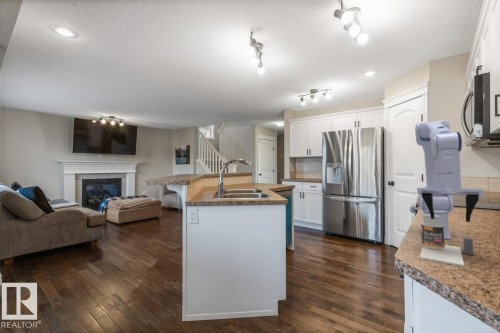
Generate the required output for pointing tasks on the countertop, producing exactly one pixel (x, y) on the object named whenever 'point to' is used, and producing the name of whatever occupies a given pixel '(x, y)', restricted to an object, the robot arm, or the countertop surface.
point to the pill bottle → (432, 232)
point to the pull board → (449, 253)
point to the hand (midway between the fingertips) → (449, 219)
